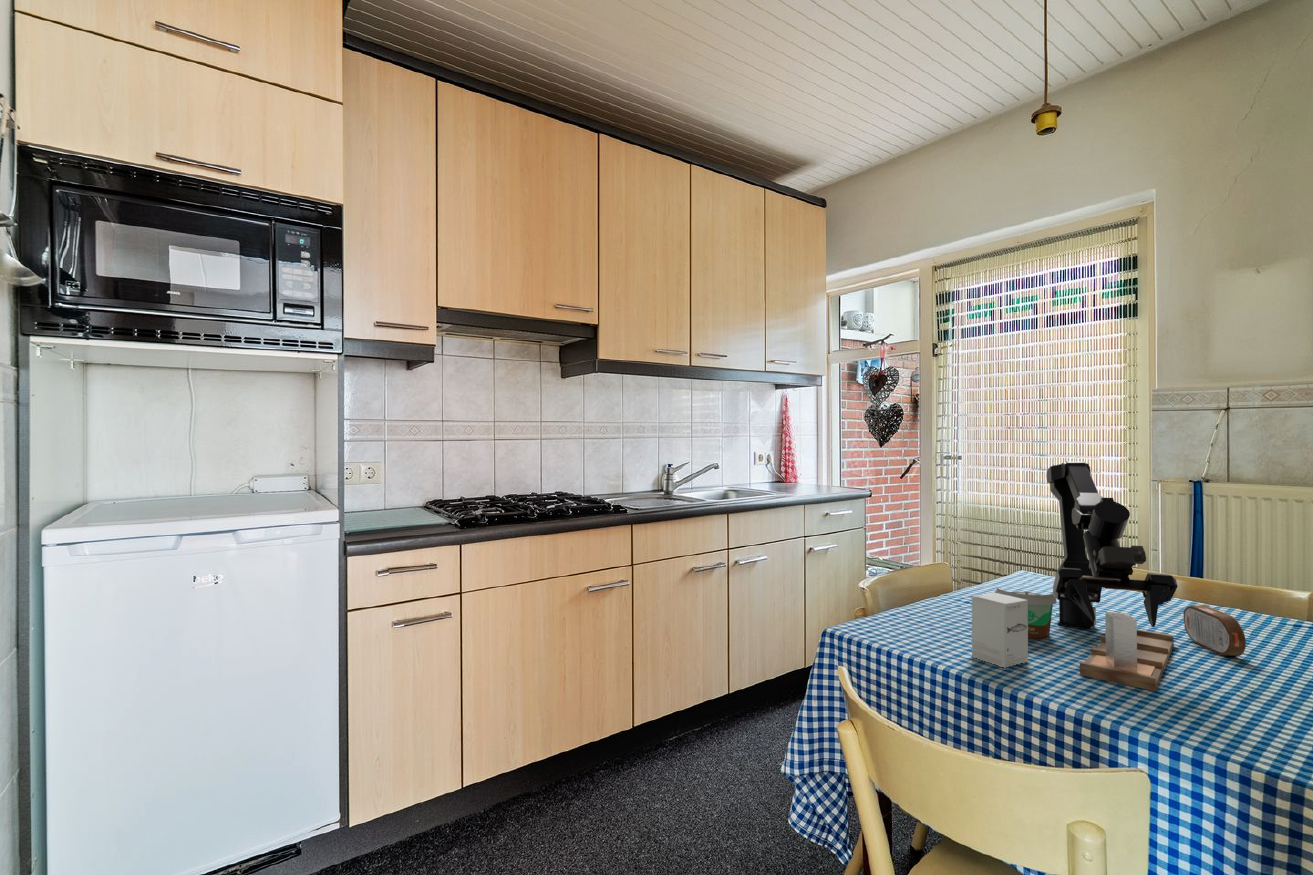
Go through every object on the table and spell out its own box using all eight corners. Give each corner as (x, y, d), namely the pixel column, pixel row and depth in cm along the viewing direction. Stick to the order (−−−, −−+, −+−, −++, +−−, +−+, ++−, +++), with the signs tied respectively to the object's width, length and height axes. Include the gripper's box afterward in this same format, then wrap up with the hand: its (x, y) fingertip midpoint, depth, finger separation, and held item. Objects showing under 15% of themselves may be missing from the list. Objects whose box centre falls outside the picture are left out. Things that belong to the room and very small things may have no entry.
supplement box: (1005, 669, 116) (1004, 603, 116) (970, 657, 123) (970, 595, 123) (1029, 663, 119) (1029, 599, 119) (994, 652, 126) (994, 591, 126)
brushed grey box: (1106, 660, 117) (1105, 611, 117) (1128, 663, 115) (1127, 613, 115) (1114, 669, 112) (1113, 618, 112) (1137, 672, 111) (1136, 620, 111)
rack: (1079, 674, 113) (1079, 662, 113) (1110, 634, 137) (1110, 624, 137) (1155, 691, 105) (1155, 678, 105) (1173, 645, 130) (1173, 635, 130)
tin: (1248, 662, 120) (1247, 619, 120) (1229, 661, 120) (1228, 618, 121) (1196, 638, 134) (1196, 600, 135) (1180, 637, 135) (1179, 600, 135)
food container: (998, 637, 135) (998, 592, 135) (994, 629, 141) (994, 587, 141) (1063, 644, 131) (1062, 598, 131) (1056, 635, 136) (1055, 591, 136)
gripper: (1056, 527, 121) (1071, 594, 111) (1172, 532, 114) (1199, 604, 104) (1048, 559, 128) (1061, 625, 118) (1157, 566, 121) (1181, 637, 111)
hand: (1123, 623), depth 112 cm, fingers open, 9 cm apart
